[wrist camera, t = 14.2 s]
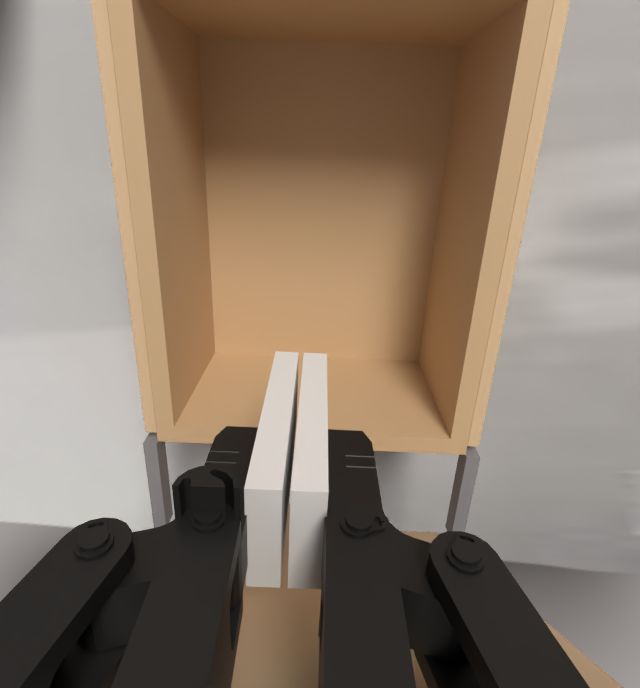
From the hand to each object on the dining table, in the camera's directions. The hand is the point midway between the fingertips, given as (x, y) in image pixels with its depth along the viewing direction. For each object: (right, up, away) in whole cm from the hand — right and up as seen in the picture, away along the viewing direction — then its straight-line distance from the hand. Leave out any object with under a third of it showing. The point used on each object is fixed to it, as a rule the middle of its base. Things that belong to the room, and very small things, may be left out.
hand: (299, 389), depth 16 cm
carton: (+1, +6, +11) cm, 13 cm away
